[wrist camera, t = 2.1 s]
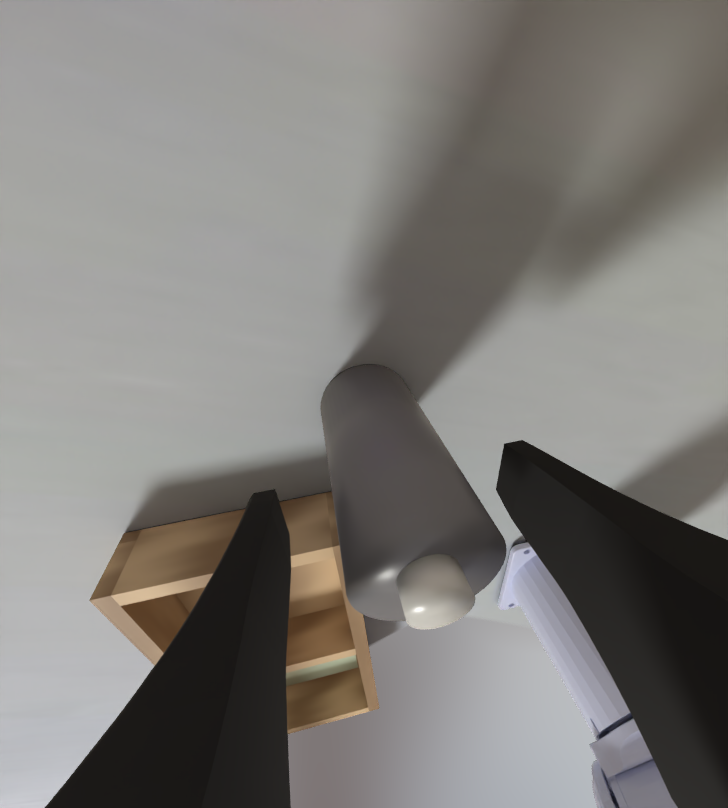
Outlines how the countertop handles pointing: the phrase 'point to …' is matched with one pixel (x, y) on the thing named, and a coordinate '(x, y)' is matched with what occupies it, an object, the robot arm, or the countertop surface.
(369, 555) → the battery cell
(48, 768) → the countertop surface
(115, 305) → the countertop surface
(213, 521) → the cell tray
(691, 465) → the countertop surface
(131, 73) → the countertop surface
